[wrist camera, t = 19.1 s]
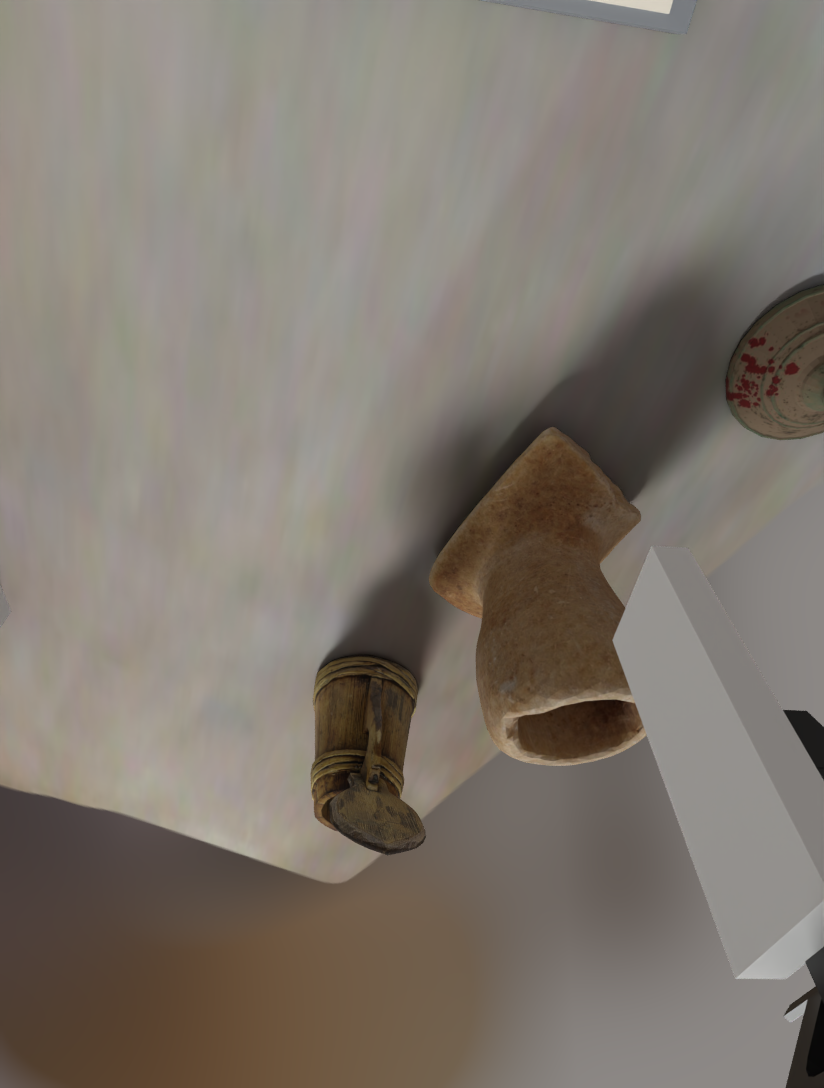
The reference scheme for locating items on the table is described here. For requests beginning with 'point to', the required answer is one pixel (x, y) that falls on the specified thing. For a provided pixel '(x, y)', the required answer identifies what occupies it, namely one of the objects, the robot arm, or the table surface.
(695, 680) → the robot arm
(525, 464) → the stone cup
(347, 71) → the table surface
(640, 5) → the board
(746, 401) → the candlestick holder
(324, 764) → the wooden mug
